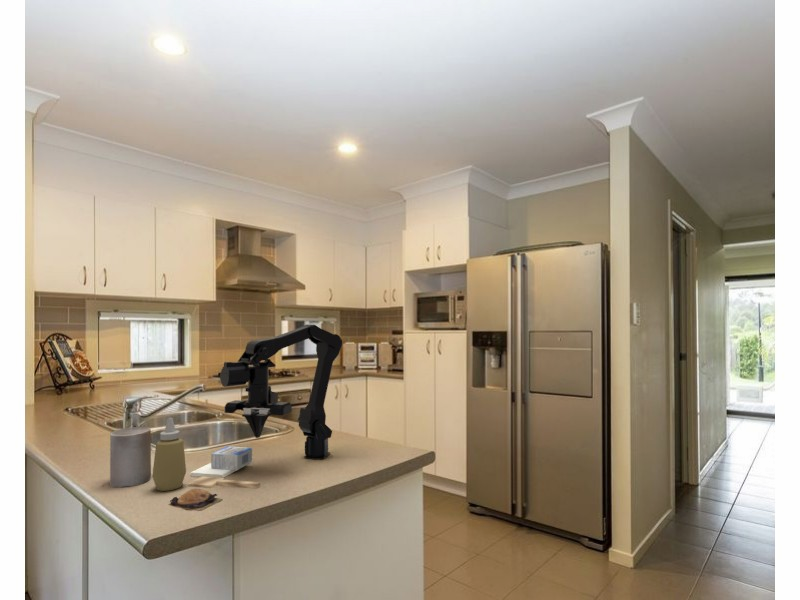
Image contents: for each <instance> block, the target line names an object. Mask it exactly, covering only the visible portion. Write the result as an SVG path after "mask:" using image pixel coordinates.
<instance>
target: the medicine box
mask: <svg viewBox="0 0 800 600" xmlns="http://www.w3.org/2000/svg"><path fill="white" fill-rule="evenodd" d="M210 455H211V457H210V460H211V462H210V463H211V468H213V469H225V470H237V471H239V470H240V469H242V468H243V467H245V466H247V465H249V464H251V463H252V458H253V448H252V447H242V446H240V447H239V446H229V445H228V446H226V447H223V448H221V449H219V450H216V451H214V452H212V453H211V454H210Z"/></svg>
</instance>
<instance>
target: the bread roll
mask: <svg viewBox="0 0 800 600" xmlns="http://www.w3.org/2000/svg"><path fill="white" fill-rule="evenodd" d="M216 496H217V497H216ZM222 501H223V498H221V497H220V498H219V497H218V494H217V493H213V494H212V493H211V492H209V491H208V490H205V489H200V488H192V489H190V490H188V491H186V492H184V493H183V494H181V495H180V496H179V497H177V496H174V497H173V498H172V499H170V501H169V502H170V503H169V504H168V506H170V507H174V508H180V509H184V510H189V511H190V510H191V511H197V512H198V511H200V512H202V511H204V510H206V509H208V508H210V507H212V506H213V505H217V504H218V503H220V502H222Z"/></svg>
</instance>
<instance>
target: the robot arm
mask: <svg viewBox="0 0 800 600" xmlns="http://www.w3.org/2000/svg"><path fill="white" fill-rule="evenodd" d="M305 340H309V341H310V342H311V343H312V344H315V345H316V347H315V351H316V356H317V364H316V367H315V372H314V377H313V382H312V385H311V390H310V395H309V400H308V403H307V405H306V406H305V407H304V408H303V407H300V410H299V416H298V418H297V421H298V427H299V429H300V430H301V431H302V434H303V436H304V437H305V438H306V439H305V441H304V456H303V458H304V459H314V460H324V459H325V458H326V457H328V456H330V455H331V452H330V451H329V439H330V438H331V437H332V434H333V430H332V429H331V428H330V427H329V426H328V425H327V424H326V421H327V420H326V419H327V418H326V417H327V415H326V410H325V401H326V398H327V391H328V387H329V382H330V377H331V372H332V369H333V368H332V367H333V364H334V361H335V360H336V359H337V358H338V356H339V355H340V352H341V349H342V347H343V339H342V338H341V336H340V335H339V334H338V333H337V334H335V333H332V332H330V331H328V330H325V329H323V328H321V327H320V326H318V325H316V324H304V325H303V326H301V327H299V328H295V329H293V330H290V331H288V332H284V333H281V334H278V335H277V336H274V337H266V338H259V339H253V340H250V341H248V342H247V343H246V346H245V350H244V351H243V353H242V354H241V356H240V357H239V359H238V360H237V361H233V362H232V361H224V362H223V367H222V368H221V371H220V374H219V377H220V378H219V379H220V380H219V381H220V383H221V384H220V385H222V387H224V388H227V387H235V386H245V385H246V384H247V387H245V392H247V401H246V400H241V399H239V400H232V401H229V402H226V404H225V405H224V413H225V414H234V413H235V412H236V411H243V413H242V415H241V416H242V417H244V418H245V420H246V422H247V423H248V425H249V427H250V429H251V430H252V432H253V435H254V437H255V438H256V439H259V438H261V435H262V432H263V429H264V427H265V424H266V422H267V420H268V418H269V417H270V416H271V415H272V416H284V415H287V414H289V413H292V411H293V409H292V408H293V406H292V404H291V403H290V402H289V401H278V400H279V393H277V392H275V391H272V386H271V385H269V369H270V368H275V367H276V363H274V362H272V360H271V359H270V358H272V357H273V356H275V355H276V354H277V353H278V352H279V351H281V350H283V349H285V348H287V347H291V346H293V345H295V344H298V343H300V342H303V341H305Z"/></svg>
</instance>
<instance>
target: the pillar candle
mask: <svg viewBox="0 0 800 600" xmlns="http://www.w3.org/2000/svg"><path fill="white" fill-rule="evenodd" d="M151 435H152V433H151V427H148V426H135V427H133V425H131V426H130V427H124V428H120V429H117V430H113V431H112V432H110V436H109V438H110V441H109V443H110V444H109V445H110V446H109V447H110V448H109V451H110V453H109V454H110V457H109V458H110V461H109V465H110V467H109V468H110V469H109V473H110V474H109V477H110V479H109V480H110V481H109V483H110V486H111V487H113V488H124V487H134V486H139V485H142V484H144V483H147V482H148V481H150V480H151V478H152V459H151V458H152V445H151V444H152V443H151V441H152V439H151V438H152V436H151Z"/></svg>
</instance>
